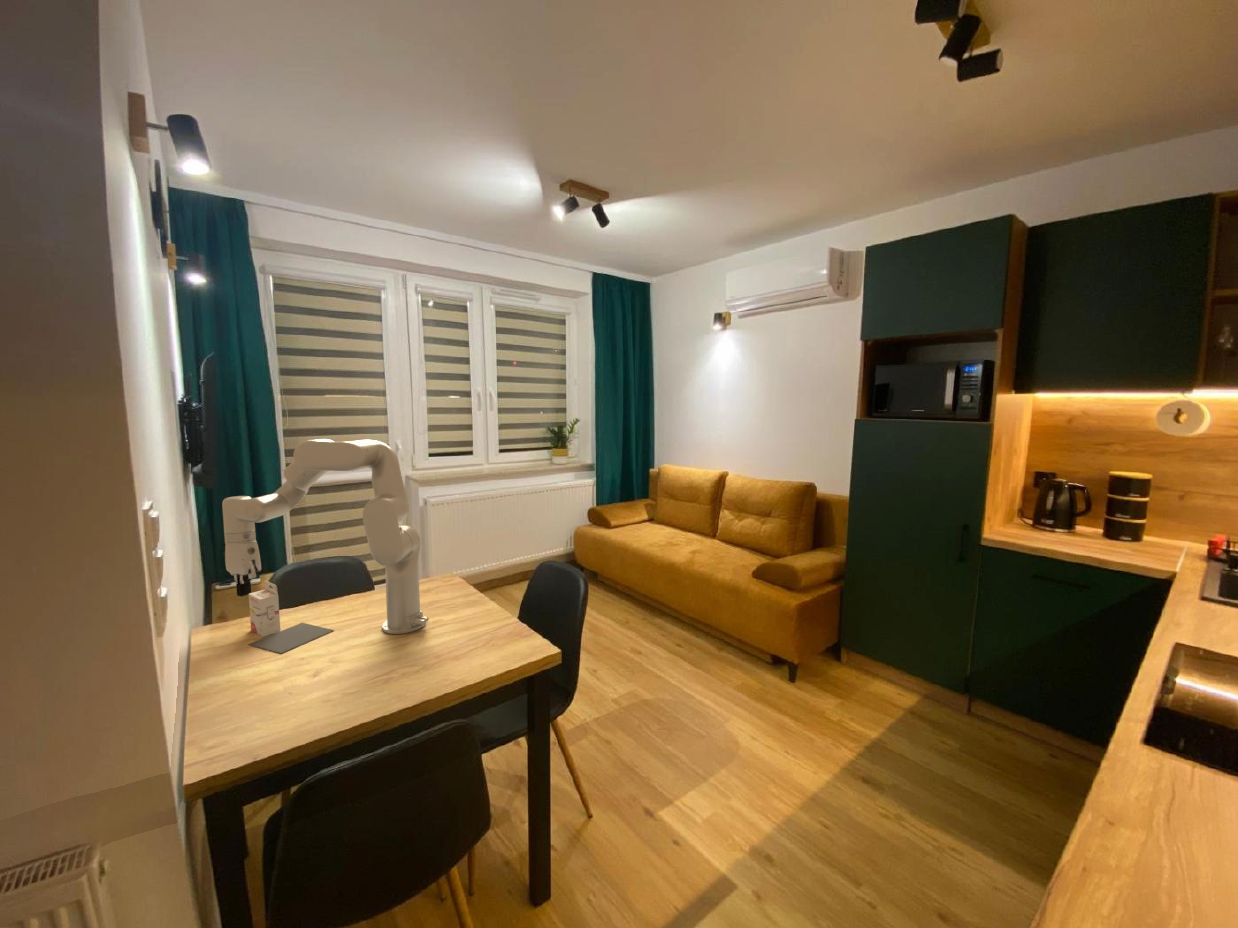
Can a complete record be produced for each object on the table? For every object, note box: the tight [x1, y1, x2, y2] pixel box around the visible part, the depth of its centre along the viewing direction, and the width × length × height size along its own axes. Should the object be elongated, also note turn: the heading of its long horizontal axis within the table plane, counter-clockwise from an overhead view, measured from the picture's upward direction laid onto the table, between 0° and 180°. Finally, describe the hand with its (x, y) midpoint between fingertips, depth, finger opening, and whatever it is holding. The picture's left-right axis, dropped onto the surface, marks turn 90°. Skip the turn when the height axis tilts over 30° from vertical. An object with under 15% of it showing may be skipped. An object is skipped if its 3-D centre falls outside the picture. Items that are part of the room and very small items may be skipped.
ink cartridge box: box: [248, 579, 281, 638], centre depth 151 cm, size 9×5×15 cm, turn 58°
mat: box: [247, 622, 335, 655], centre depth 147 cm, size 14×16×1 cm
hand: (244, 594), depth 154 cm, fingers closed
